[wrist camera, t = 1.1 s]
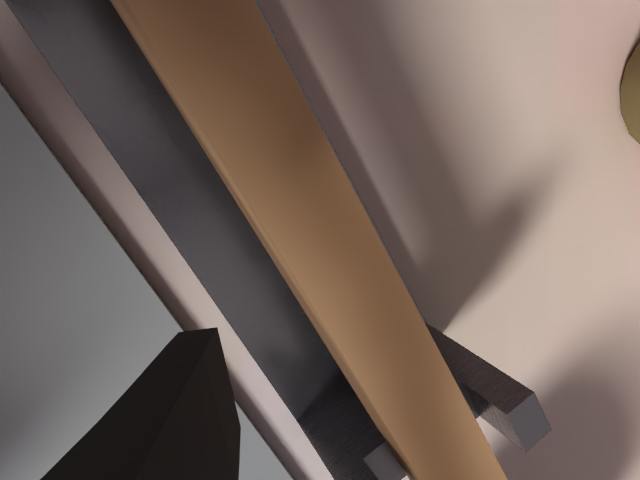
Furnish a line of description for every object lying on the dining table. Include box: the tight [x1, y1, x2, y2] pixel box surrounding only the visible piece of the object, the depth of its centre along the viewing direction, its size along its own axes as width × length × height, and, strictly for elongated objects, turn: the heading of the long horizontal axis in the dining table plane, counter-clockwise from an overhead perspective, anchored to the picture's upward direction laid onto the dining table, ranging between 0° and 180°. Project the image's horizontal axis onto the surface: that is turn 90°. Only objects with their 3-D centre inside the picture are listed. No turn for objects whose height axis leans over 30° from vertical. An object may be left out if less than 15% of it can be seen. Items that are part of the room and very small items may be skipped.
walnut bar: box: [110, 0, 508, 480], centre depth 16 cm, size 2×24×2 cm, turn 28°
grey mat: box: [0, 82, 294, 480], centre depth 19 cm, size 10×28×1 cm, turn 28°
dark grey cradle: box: [5, 0, 552, 480], centre depth 18 cm, size 7×22×8 cm, turn 28°
